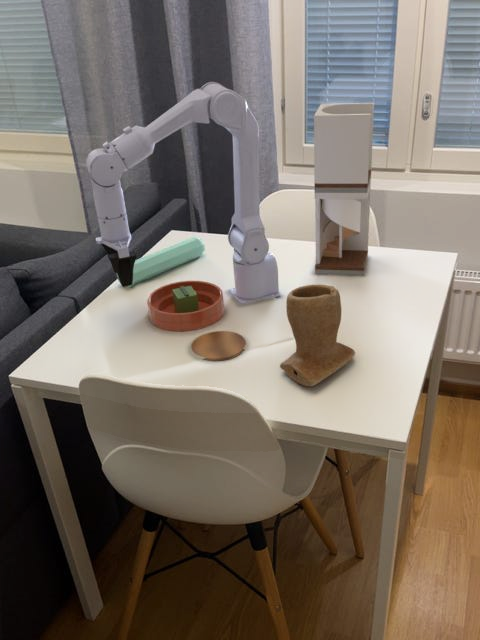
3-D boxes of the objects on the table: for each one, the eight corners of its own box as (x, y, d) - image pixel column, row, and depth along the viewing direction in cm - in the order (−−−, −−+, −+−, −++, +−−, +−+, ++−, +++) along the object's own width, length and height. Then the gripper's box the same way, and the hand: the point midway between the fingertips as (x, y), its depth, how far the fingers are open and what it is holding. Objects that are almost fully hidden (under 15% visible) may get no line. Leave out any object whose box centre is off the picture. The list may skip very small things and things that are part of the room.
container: (195, 228, 176) (116, 259, 162) (211, 242, 174) (132, 274, 160) (191, 247, 181) (114, 279, 167) (206, 260, 179) (130, 293, 165)
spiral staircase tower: (315, 274, 164) (314, 115, 143) (321, 256, 172) (321, 103, 151) (363, 275, 161) (370, 114, 141) (367, 257, 170) (374, 102, 149)
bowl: (211, 293, 159) (209, 275, 157) (234, 323, 147) (233, 304, 144) (142, 308, 156) (139, 289, 153) (160, 340, 143) (157, 320, 140)
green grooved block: (193, 306, 153) (190, 283, 150) (199, 315, 149) (197, 292, 146) (174, 310, 152) (171, 287, 149) (180, 320, 148) (177, 297, 145)
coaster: (235, 329, 145) (235, 326, 144) (254, 353, 136) (253, 350, 136) (185, 340, 142) (184, 338, 142) (200, 366, 134) (200, 363, 133)
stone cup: (313, 340, 139) (313, 270, 130) (363, 359, 132) (366, 286, 123) (263, 373, 130) (259, 300, 121) (313, 394, 123) (313, 319, 114)
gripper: (85, 206, 141) (98, 269, 149) (98, 229, 130) (111, 296, 138) (119, 200, 143) (130, 263, 151) (134, 223, 132) (145, 288, 140)
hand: (123, 278), depth 145 cm, fingers open, 7 cm apart
